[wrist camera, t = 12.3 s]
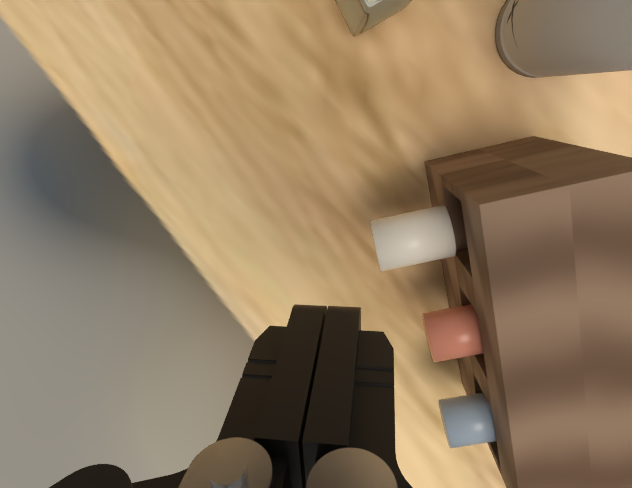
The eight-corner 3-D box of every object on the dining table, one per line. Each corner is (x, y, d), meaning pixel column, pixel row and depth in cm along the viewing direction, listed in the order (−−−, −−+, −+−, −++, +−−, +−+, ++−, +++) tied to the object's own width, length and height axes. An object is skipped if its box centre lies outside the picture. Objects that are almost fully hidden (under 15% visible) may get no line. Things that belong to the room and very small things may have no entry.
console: (424, 161, 34) (479, 204, 21) (533, 136, 33) (663, 164, 20) (462, 383, 40) (523, 526, 27) (555, 367, 39) (667, 507, 26)
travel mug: (471, 29, 31) (677, -68, 12) (555, -46, 30) (938, -291, 11) (524, 100, 33) (783, 110, 14) (606, 32, 31) (1032, -66, 12)
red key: (420, 305, 31) (429, 328, 28) (487, 292, 30) (503, 314, 27) (427, 345, 32) (437, 372, 29) (492, 333, 31) (509, 359, 28)
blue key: (436, 390, 33) (446, 420, 30) (499, 379, 32) (515, 409, 29) (443, 426, 34) (453, 458, 31) (504, 416, 33) (520, 448, 30)
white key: (368, 215, 29) (371, 229, 26) (438, 199, 29) (450, 212, 26) (378, 260, 30) (382, 279, 27) (446, 246, 30) (458, 264, 27)
